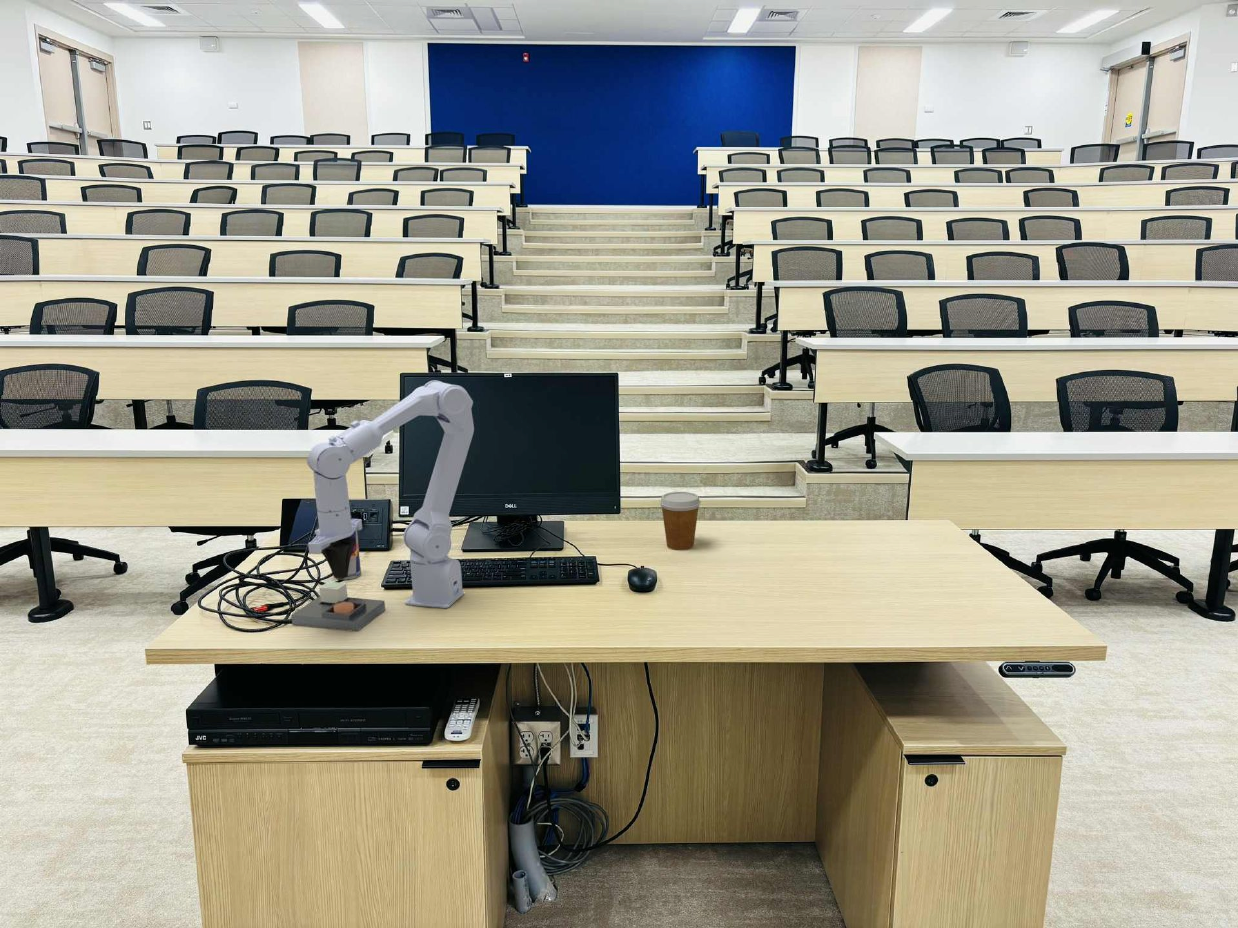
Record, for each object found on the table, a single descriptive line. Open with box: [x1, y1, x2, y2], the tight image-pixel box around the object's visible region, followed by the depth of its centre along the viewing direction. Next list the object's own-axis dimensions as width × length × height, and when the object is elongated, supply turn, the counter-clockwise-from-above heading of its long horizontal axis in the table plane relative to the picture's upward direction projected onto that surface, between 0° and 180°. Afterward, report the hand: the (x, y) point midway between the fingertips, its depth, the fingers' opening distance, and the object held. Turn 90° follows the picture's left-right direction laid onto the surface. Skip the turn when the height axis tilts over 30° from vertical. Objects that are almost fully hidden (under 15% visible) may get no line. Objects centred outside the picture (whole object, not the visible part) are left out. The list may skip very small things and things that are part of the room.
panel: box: [290, 595, 386, 632], centre depth 167 cm, size 14×10×3 cm
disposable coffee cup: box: [659, 491, 702, 551], centre depth 202 cm, size 10×10×12 cm
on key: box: [319, 581, 348, 603], centre depth 169 cm, size 4×3×3 cm
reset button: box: [334, 602, 354, 614], centre depth 164 cm, size 4×4×3 cm
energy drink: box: [337, 530, 362, 581], centre depth 187 cm, size 5×5×12 cm
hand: (340, 577), depth 162 cm, fingers closed
